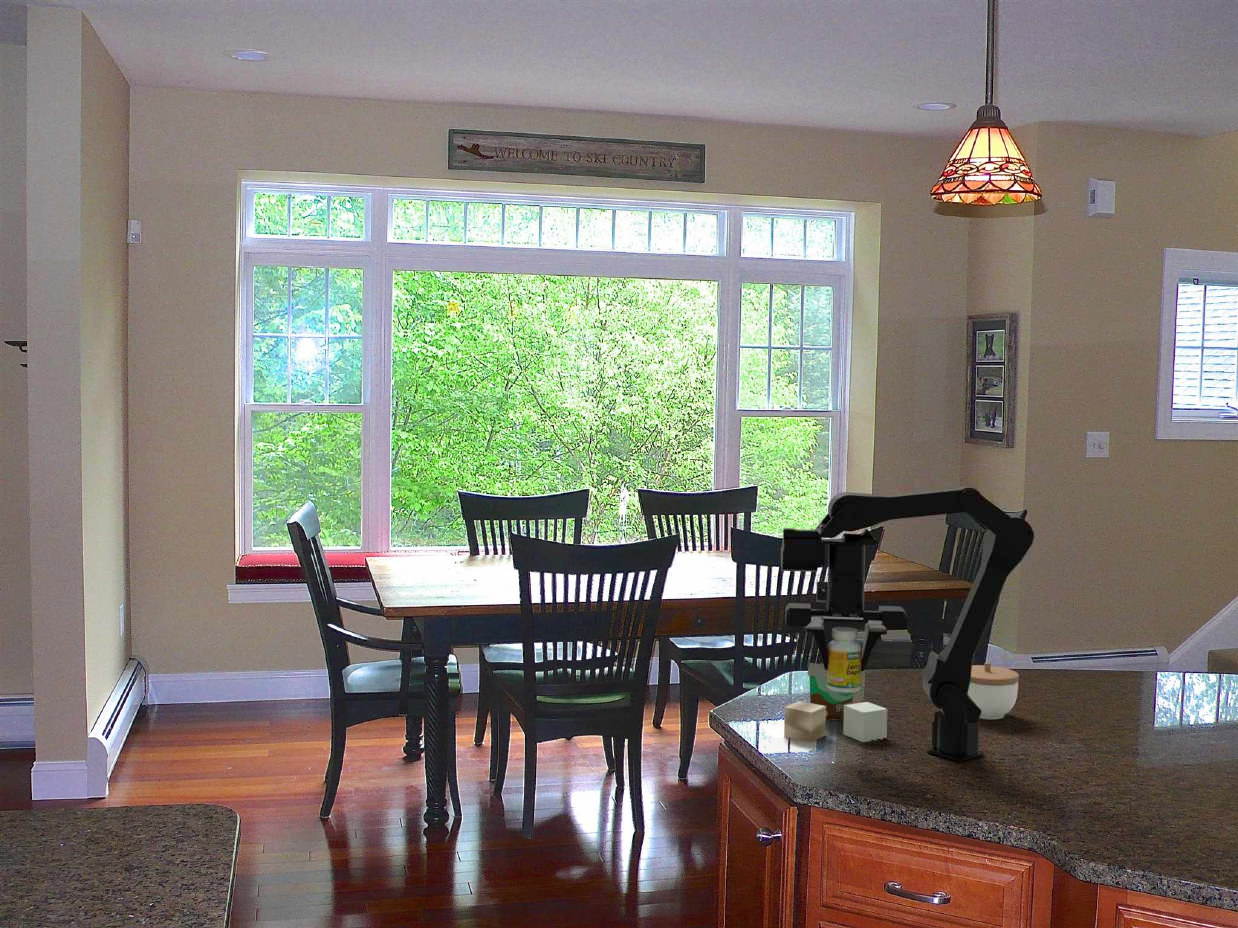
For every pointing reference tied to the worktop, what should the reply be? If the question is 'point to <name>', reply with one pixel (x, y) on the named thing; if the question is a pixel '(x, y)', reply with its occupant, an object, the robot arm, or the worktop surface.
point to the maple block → (805, 721)
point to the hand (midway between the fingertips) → (844, 669)
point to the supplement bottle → (844, 661)
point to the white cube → (865, 721)
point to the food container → (826, 693)
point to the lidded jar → (993, 690)
